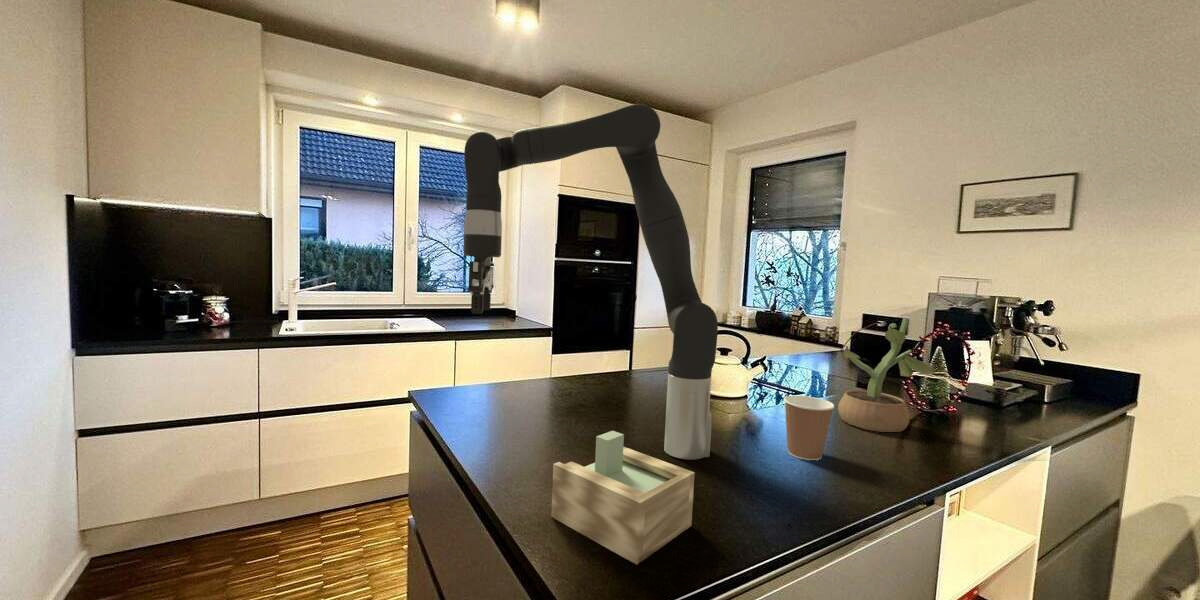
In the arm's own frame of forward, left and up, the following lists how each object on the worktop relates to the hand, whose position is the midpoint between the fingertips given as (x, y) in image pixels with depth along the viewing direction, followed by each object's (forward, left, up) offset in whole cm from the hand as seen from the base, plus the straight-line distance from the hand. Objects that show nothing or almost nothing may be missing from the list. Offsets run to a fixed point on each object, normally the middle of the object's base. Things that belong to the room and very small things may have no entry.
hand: (481, 311), depth 100 cm
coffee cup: (-72, 0, -30) cm, 78 cm away
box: (-28, +29, -29) cm, 50 cm away
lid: (-28, +29, -23) cm, 46 cm away
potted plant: (-102, -20, -30) cm, 108 cm away
